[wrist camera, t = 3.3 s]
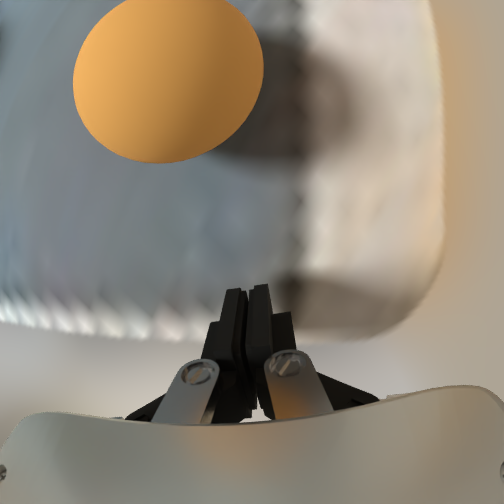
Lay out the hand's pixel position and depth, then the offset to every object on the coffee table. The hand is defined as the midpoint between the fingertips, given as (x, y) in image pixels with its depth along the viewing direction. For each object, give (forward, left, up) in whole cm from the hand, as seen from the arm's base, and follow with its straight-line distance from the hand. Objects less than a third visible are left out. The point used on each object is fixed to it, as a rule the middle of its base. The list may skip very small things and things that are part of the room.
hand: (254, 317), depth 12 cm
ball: (-10, -1, +1) cm, 10 cm away
